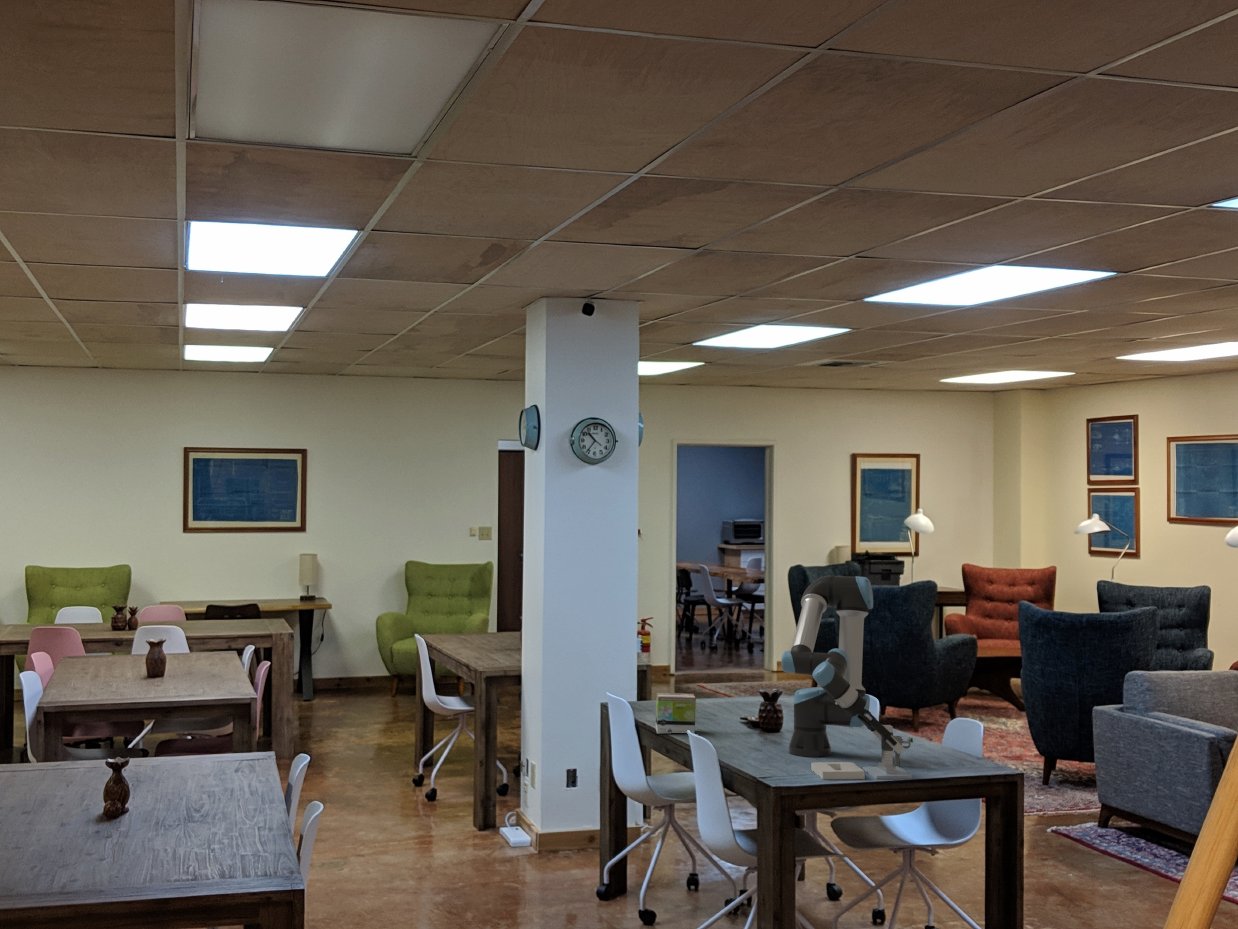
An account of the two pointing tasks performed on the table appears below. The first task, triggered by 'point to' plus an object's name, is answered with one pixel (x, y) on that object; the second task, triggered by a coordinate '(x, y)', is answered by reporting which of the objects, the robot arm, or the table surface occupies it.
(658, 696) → the tea box
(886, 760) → the t key
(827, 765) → the block
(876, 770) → the pad
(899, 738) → the mechanical component
